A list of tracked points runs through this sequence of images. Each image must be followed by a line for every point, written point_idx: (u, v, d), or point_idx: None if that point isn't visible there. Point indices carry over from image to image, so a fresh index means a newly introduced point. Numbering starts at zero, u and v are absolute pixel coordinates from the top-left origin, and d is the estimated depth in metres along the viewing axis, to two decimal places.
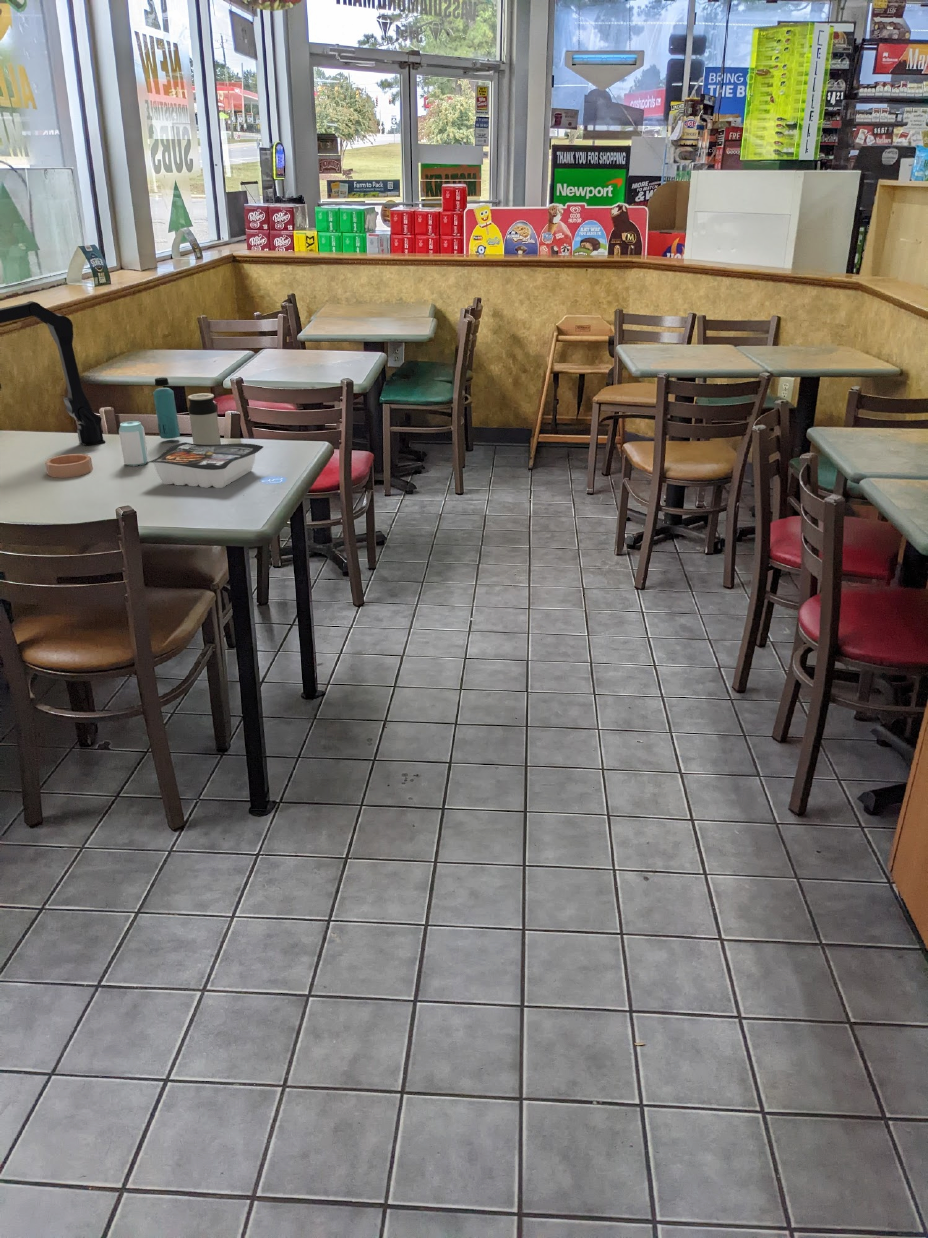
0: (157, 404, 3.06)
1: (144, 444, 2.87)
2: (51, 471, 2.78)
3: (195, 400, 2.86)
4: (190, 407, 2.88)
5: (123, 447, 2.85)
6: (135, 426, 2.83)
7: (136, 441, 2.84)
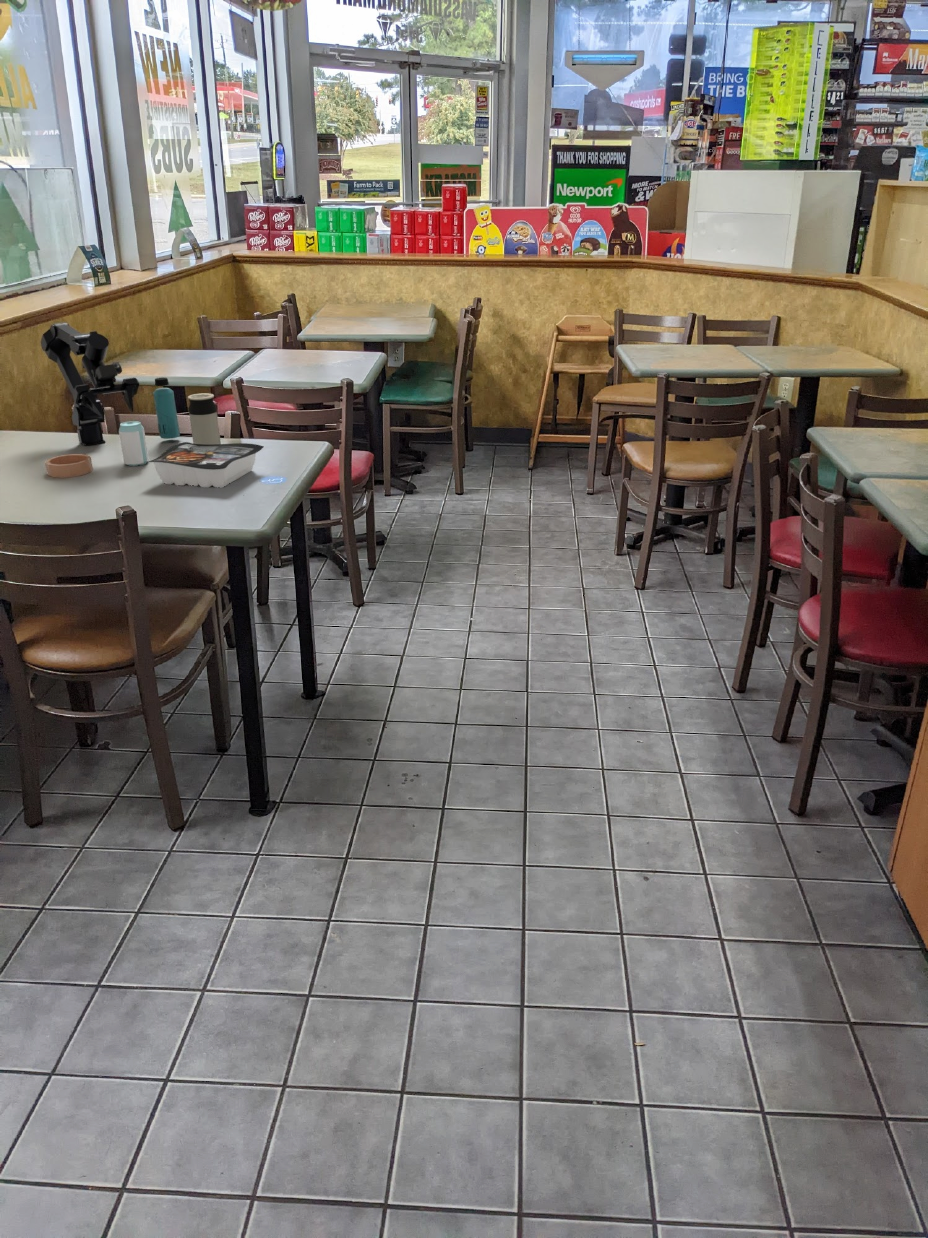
0: (157, 404, 3.06)
1: (144, 444, 2.87)
2: (51, 471, 2.78)
3: (195, 400, 2.86)
4: (190, 407, 2.88)
5: (123, 447, 2.85)
6: (135, 426, 2.83)
7: (136, 441, 2.84)
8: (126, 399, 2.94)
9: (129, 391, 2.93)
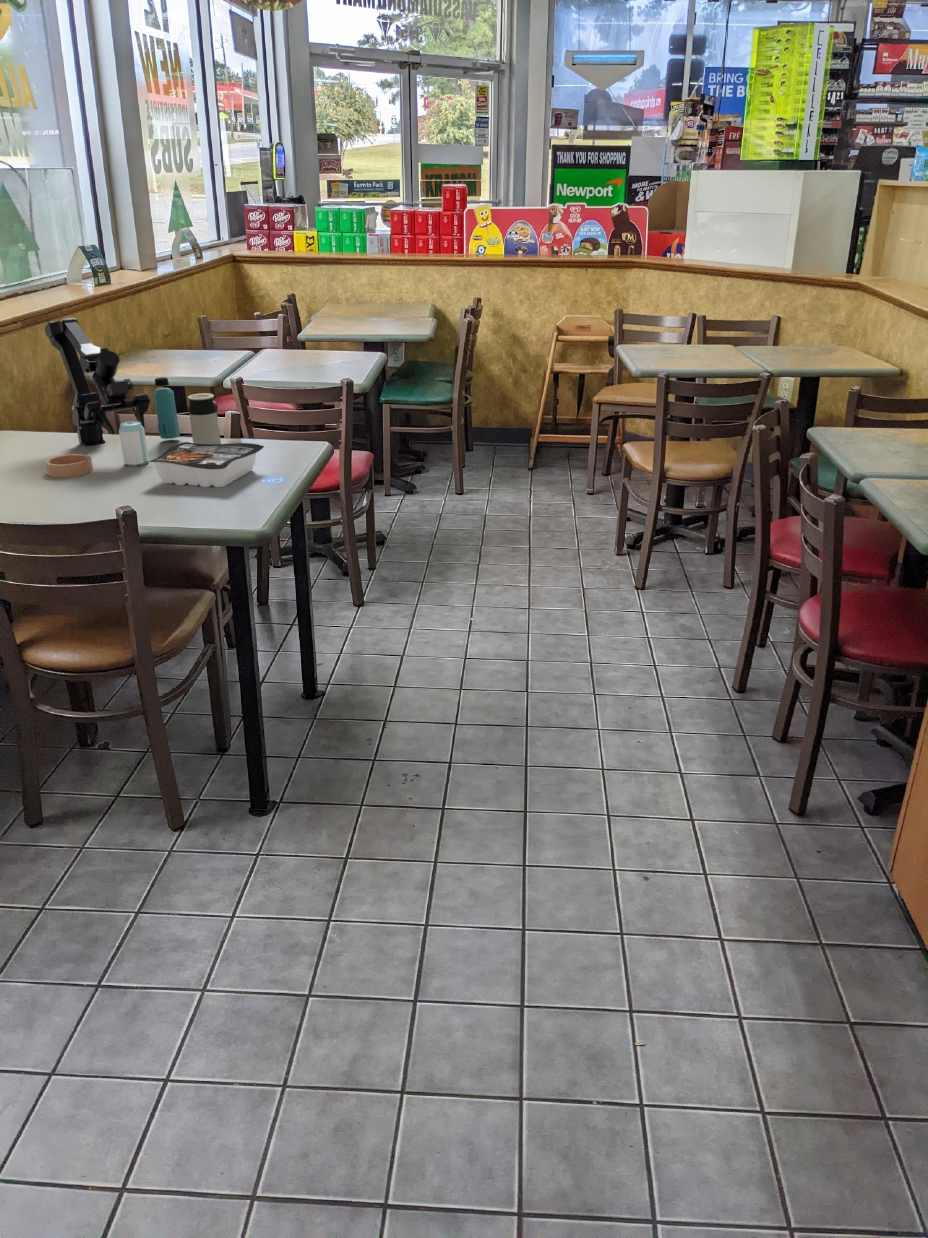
0: (157, 404, 3.06)
1: (144, 444, 2.87)
2: (51, 471, 2.78)
3: (195, 400, 2.86)
4: (190, 407, 2.88)
5: (123, 447, 2.85)
6: (135, 426, 2.83)
7: (136, 441, 2.84)
8: (137, 416, 2.92)
9: (140, 408, 2.90)
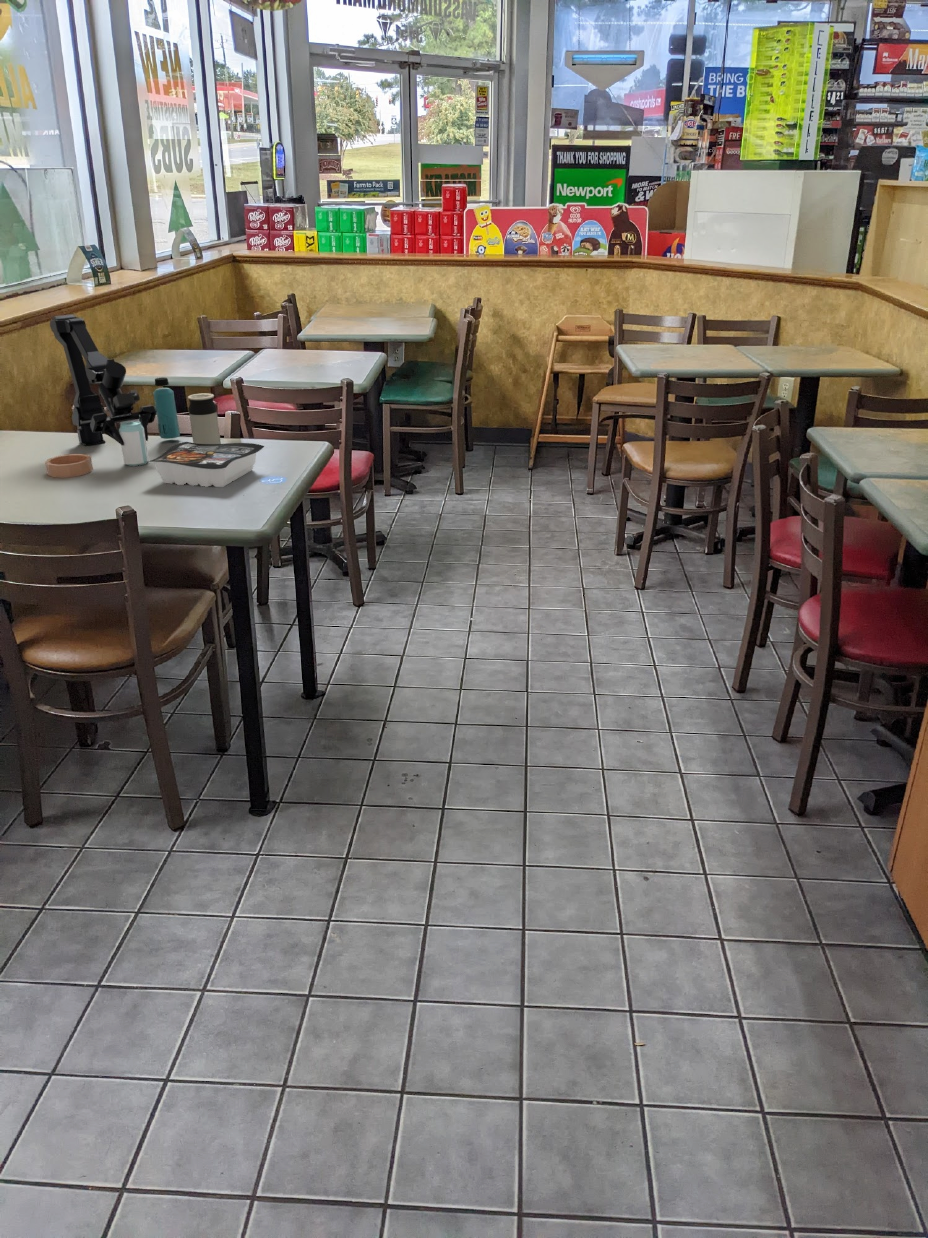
0: (157, 404, 3.06)
1: (144, 444, 2.87)
2: (51, 471, 2.78)
3: (195, 400, 2.86)
4: (190, 407, 2.88)
5: (123, 447, 2.85)
6: (135, 426, 2.83)
7: (136, 441, 2.84)
8: None
9: (144, 420, 2.88)
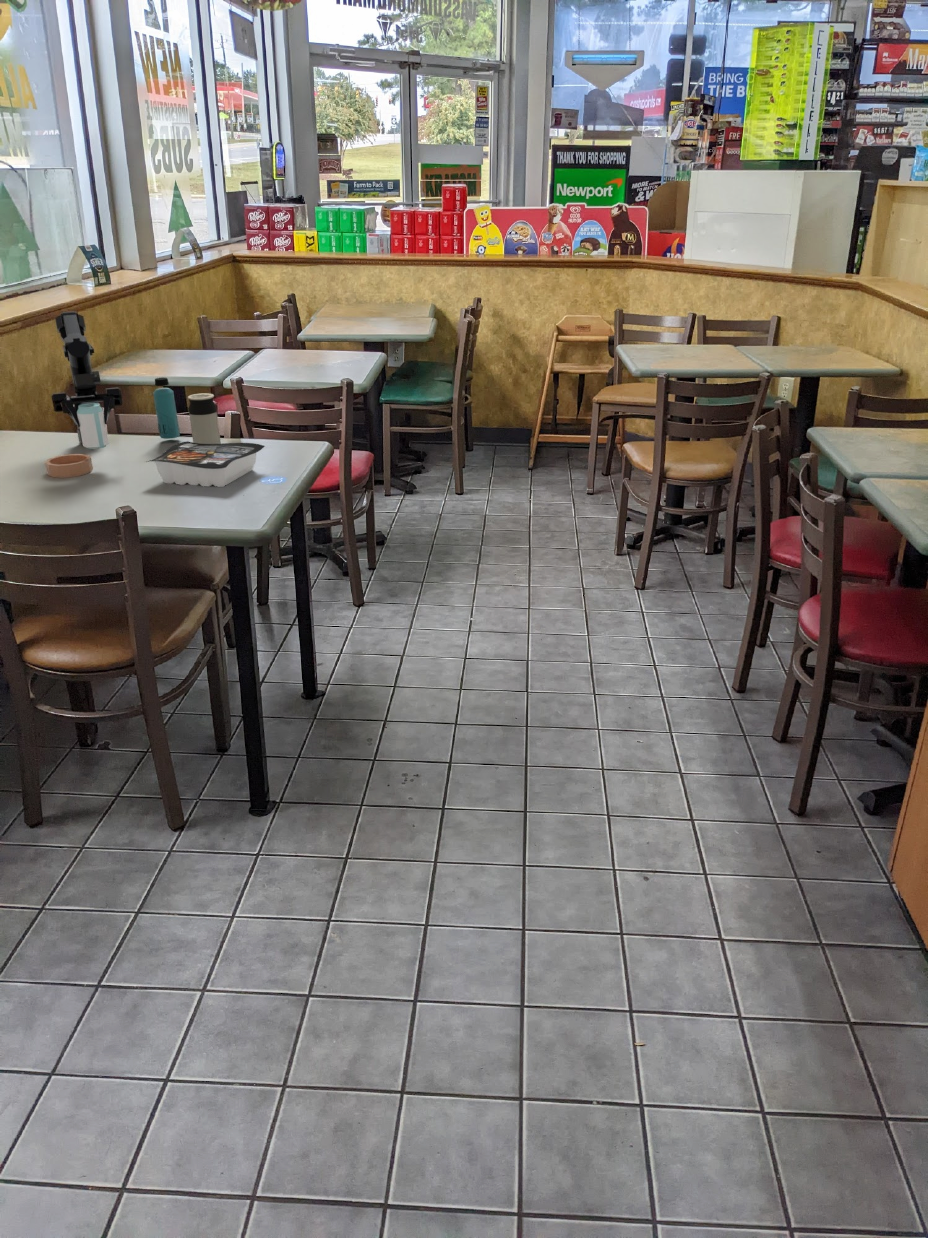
0: (157, 404, 3.06)
1: (101, 427, 2.78)
2: (51, 471, 2.78)
3: (195, 400, 2.86)
4: (190, 407, 2.88)
5: (80, 429, 2.78)
6: (90, 408, 2.75)
7: (91, 423, 2.76)
8: None
9: (105, 402, 2.80)
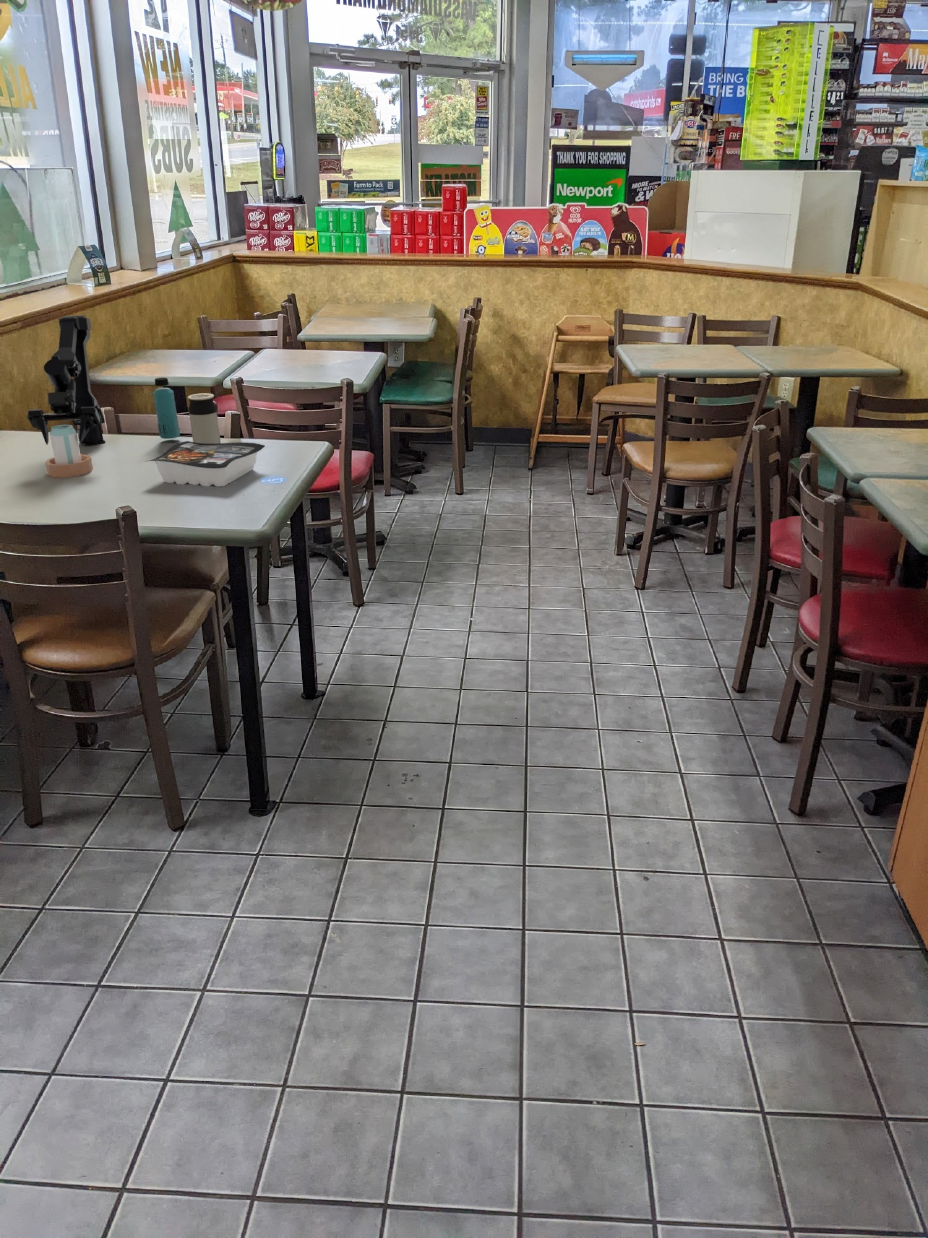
0: (157, 404, 3.06)
1: (71, 450, 2.78)
2: (51, 471, 2.78)
3: (195, 400, 2.86)
4: (190, 407, 2.88)
5: (53, 450, 2.80)
6: (60, 430, 2.76)
7: (61, 445, 2.77)
8: None
9: (82, 421, 2.79)
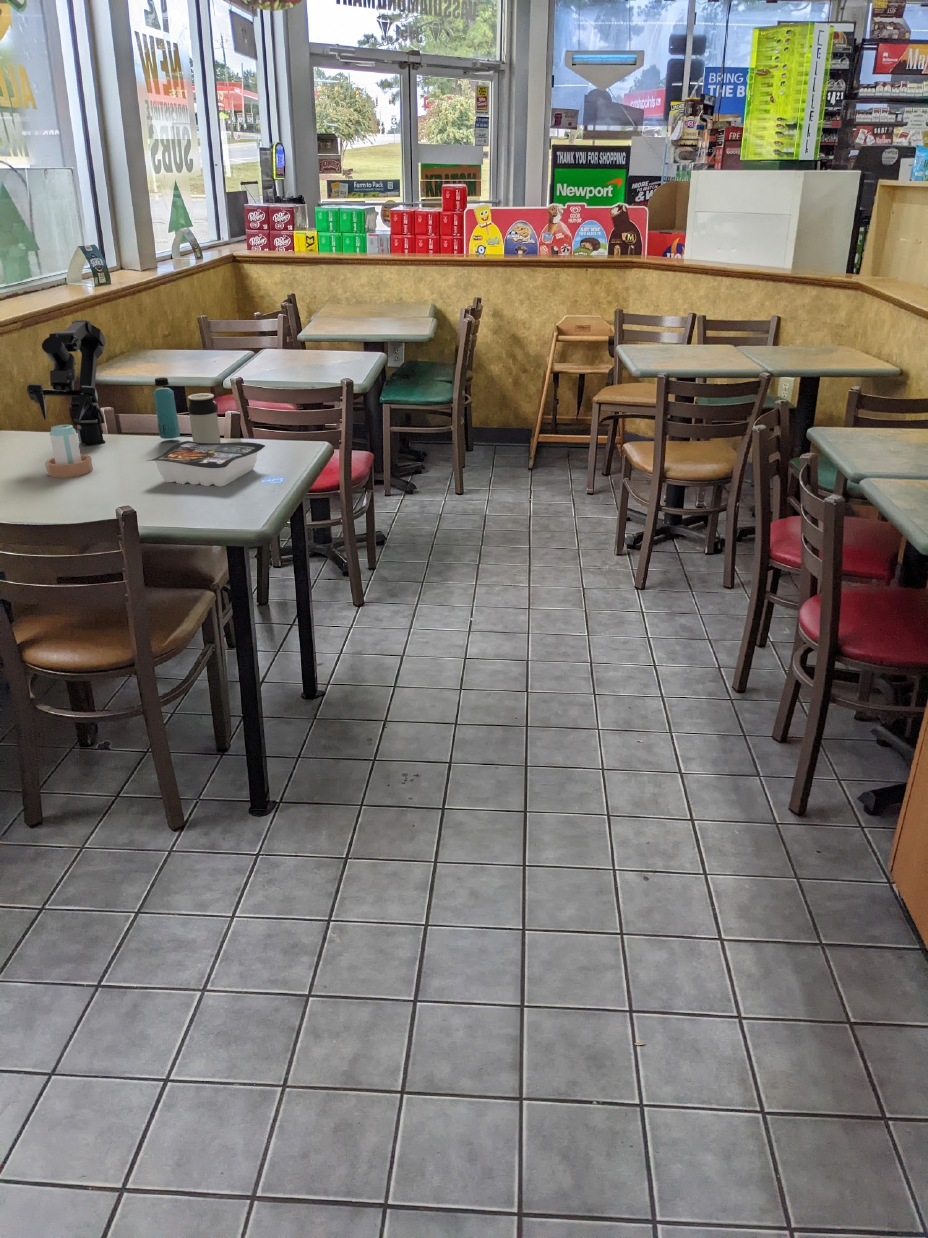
0: (157, 404, 3.06)
1: (71, 450, 2.78)
2: (51, 471, 2.78)
3: (195, 400, 2.86)
4: (190, 407, 2.88)
5: (53, 450, 2.80)
6: (60, 430, 2.76)
7: (60, 445, 2.77)
8: None
9: (81, 399, 2.87)
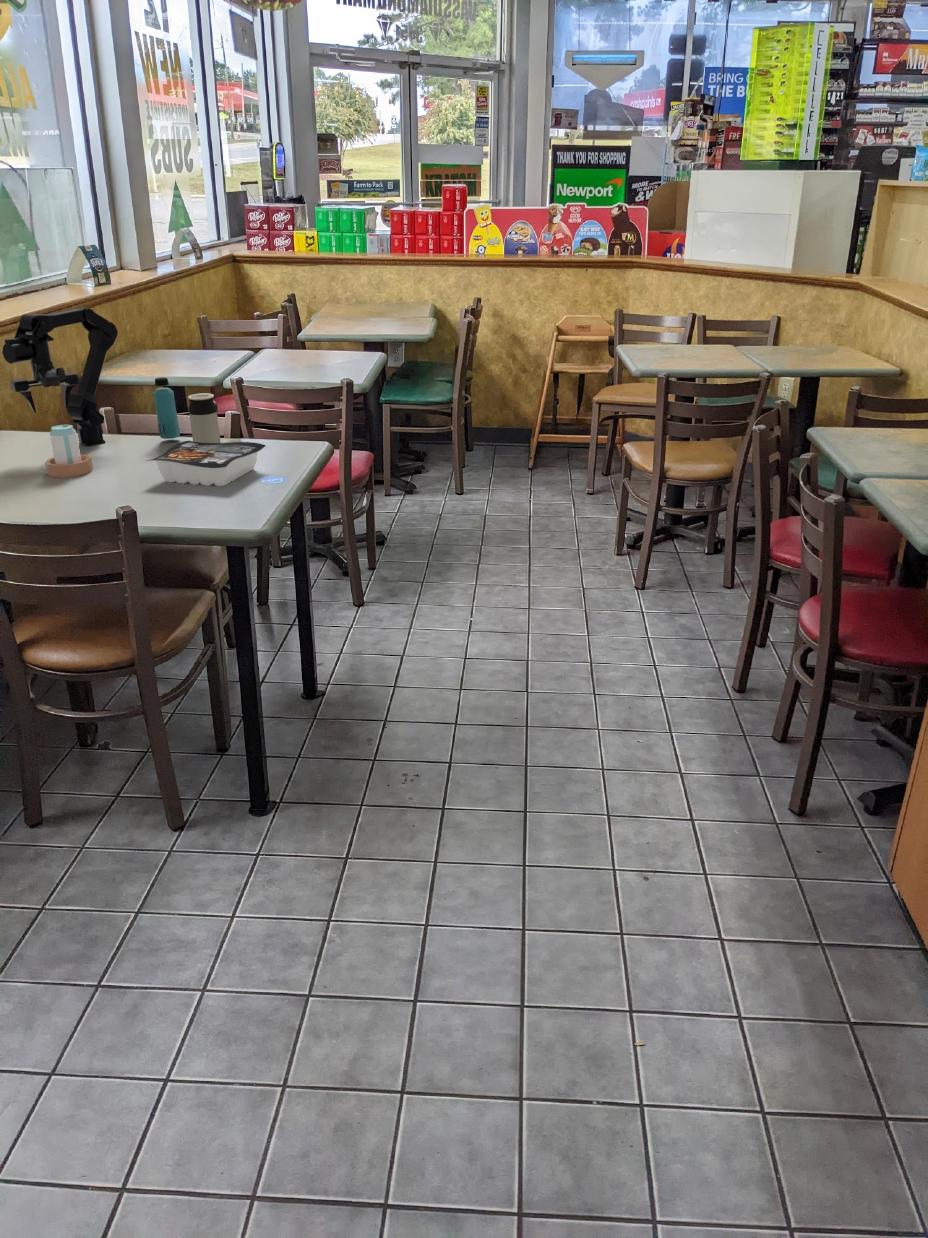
0: (157, 404, 3.06)
1: (71, 450, 2.78)
2: (51, 471, 2.78)
3: (195, 400, 2.86)
4: (190, 407, 2.88)
5: (53, 450, 2.80)
6: (60, 430, 2.76)
7: (60, 445, 2.77)
8: (63, 391, 2.99)
9: (67, 390, 2.97)
